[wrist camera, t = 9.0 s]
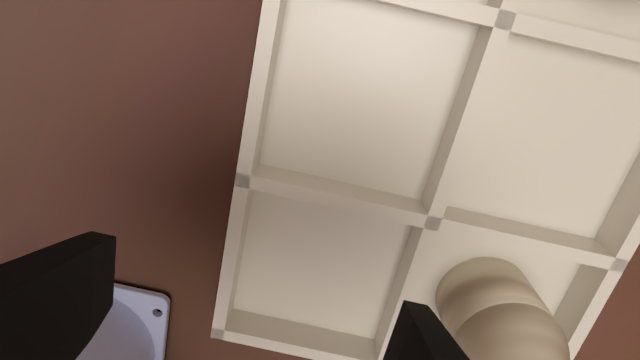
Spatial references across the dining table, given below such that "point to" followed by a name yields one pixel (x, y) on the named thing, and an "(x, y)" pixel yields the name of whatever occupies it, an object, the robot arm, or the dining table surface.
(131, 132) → the dining table surface
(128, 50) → the dining table surface
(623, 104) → the white compartment tray
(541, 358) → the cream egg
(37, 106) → the dining table surface
